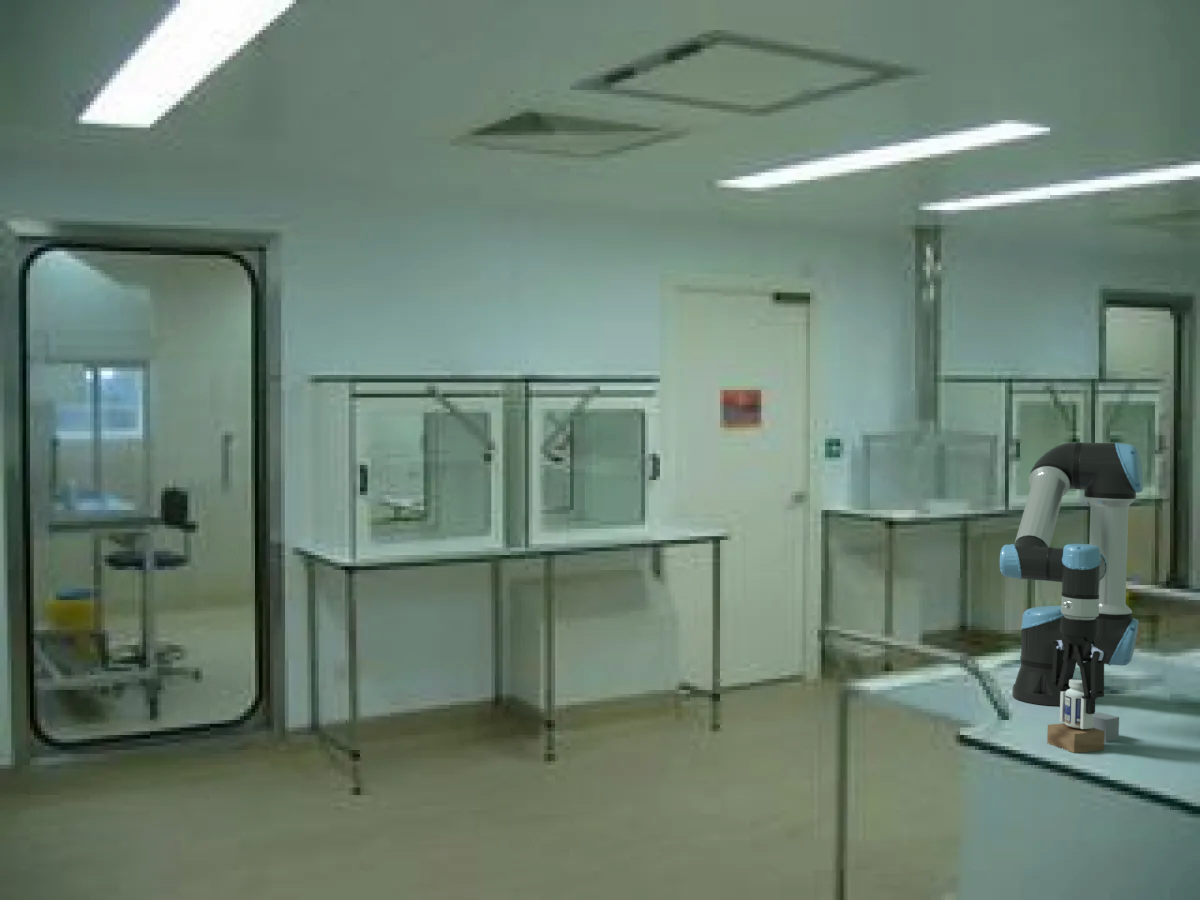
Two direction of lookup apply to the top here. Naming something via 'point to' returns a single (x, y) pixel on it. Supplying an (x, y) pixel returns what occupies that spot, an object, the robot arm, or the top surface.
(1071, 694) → the pill bottle
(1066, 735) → the walnut block
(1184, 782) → the top surface
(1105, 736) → the slate cube
